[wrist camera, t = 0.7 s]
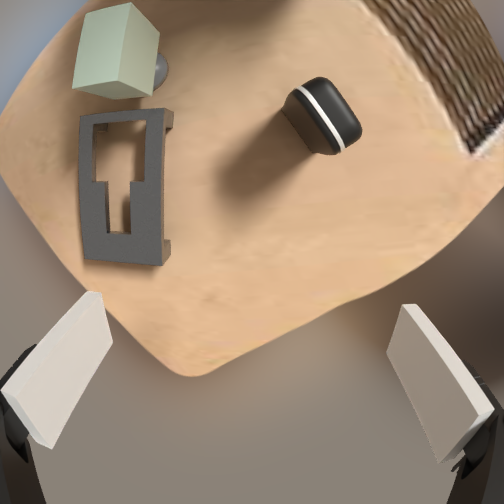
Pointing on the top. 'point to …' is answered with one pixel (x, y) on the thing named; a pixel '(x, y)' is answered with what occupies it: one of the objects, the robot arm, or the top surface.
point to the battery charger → (322, 117)
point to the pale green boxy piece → (119, 54)
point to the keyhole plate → (141, 193)
